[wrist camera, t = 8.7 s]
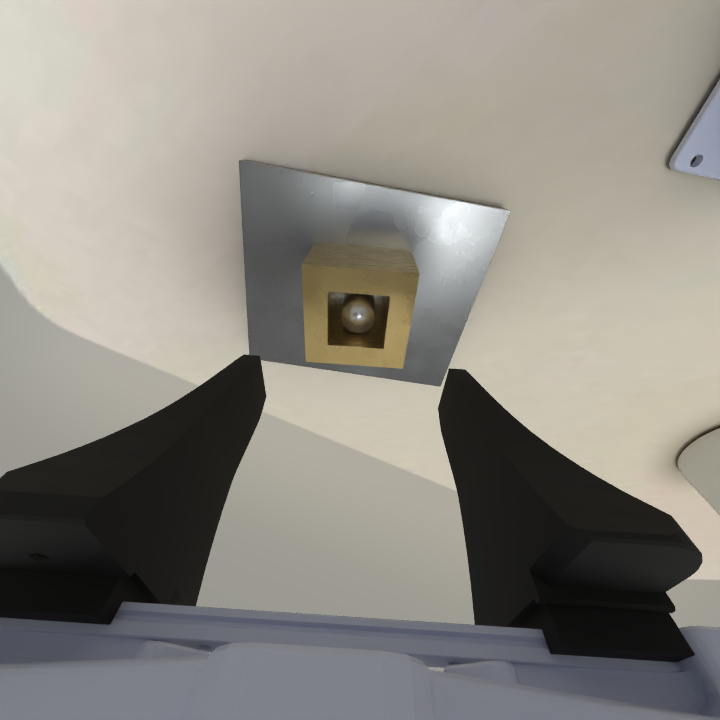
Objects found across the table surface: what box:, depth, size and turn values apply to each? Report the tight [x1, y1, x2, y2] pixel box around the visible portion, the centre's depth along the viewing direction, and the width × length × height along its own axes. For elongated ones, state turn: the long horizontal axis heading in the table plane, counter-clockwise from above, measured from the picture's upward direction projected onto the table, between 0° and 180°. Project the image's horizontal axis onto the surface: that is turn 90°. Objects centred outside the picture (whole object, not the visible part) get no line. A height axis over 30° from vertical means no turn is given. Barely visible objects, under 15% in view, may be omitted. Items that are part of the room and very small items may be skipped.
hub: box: [302, 242, 420, 369], centre depth 17 cm, size 5×5×4 cm
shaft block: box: [239, 160, 510, 386], centre depth 18 cm, size 14×12×4 cm
